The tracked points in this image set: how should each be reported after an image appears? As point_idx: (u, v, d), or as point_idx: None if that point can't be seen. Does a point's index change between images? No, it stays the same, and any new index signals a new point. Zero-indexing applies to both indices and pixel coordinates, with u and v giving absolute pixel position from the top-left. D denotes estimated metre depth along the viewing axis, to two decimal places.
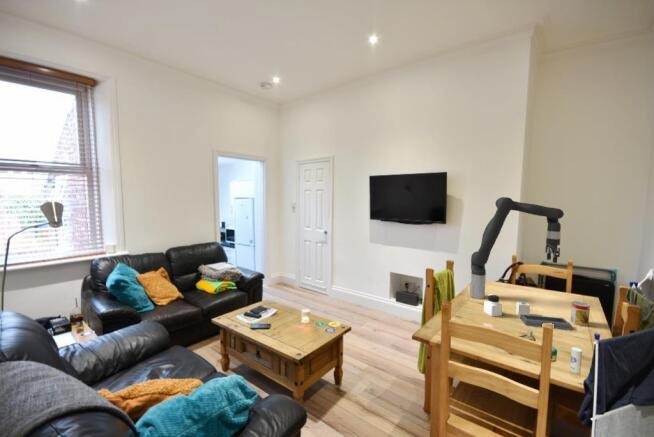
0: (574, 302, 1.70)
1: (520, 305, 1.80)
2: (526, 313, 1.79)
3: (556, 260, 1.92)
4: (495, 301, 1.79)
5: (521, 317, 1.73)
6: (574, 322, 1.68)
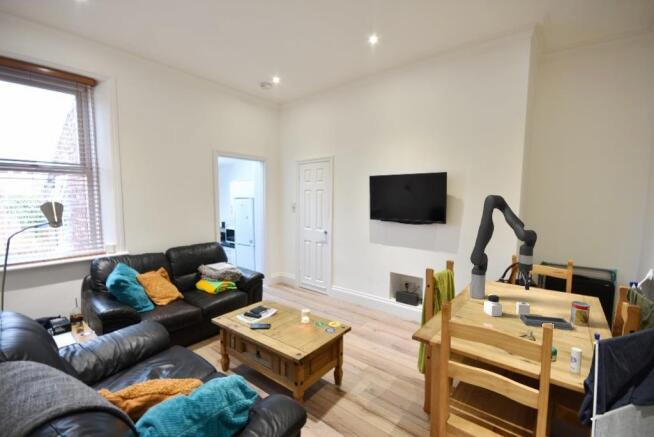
0: (574, 302, 1.70)
1: (520, 305, 1.80)
2: (526, 313, 1.79)
3: (528, 287, 1.75)
4: (495, 301, 1.79)
5: (521, 317, 1.73)
6: (574, 322, 1.68)
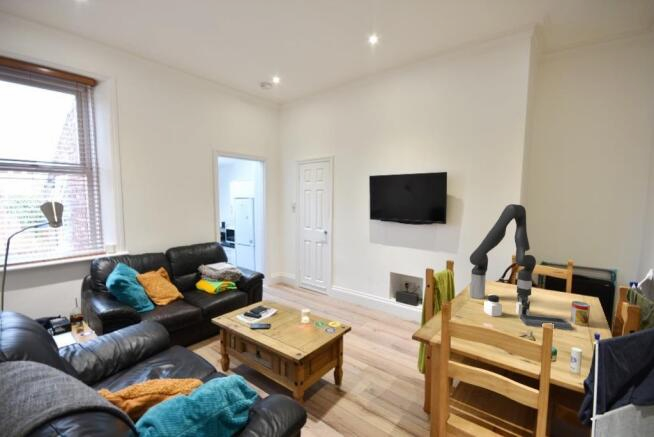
0: (574, 302, 1.70)
1: (520, 305, 1.80)
2: (526, 313, 1.79)
3: (525, 312, 1.78)
4: (495, 301, 1.79)
5: (521, 317, 1.73)
6: (574, 322, 1.68)
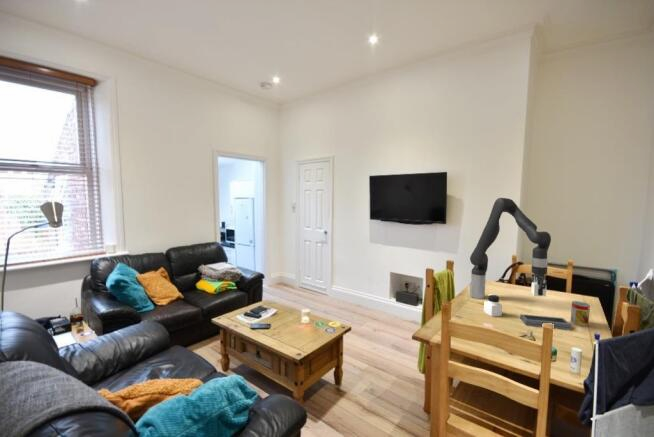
0: (574, 302, 1.70)
1: (536, 285, 1.70)
2: None
3: (542, 292, 1.68)
4: (495, 301, 1.79)
5: (521, 317, 1.73)
6: (574, 322, 1.68)
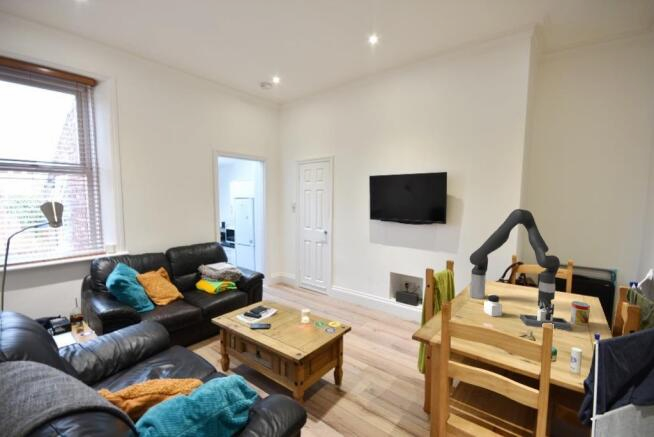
0: (574, 302, 1.70)
1: (542, 312, 1.66)
2: None
3: (549, 318, 1.63)
4: (495, 301, 1.79)
5: (521, 317, 1.73)
6: (574, 322, 1.68)
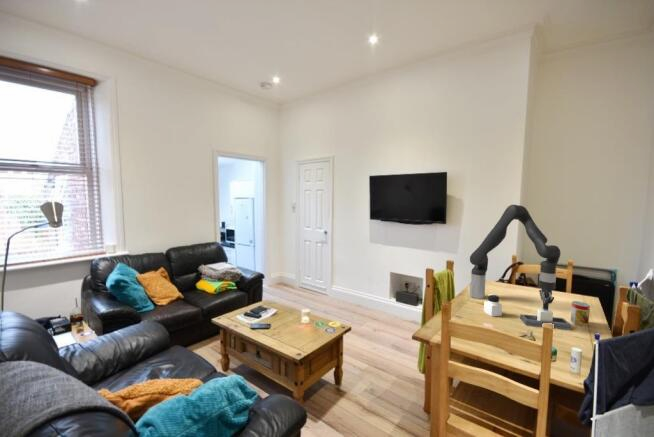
0: (574, 302, 1.70)
1: (542, 312, 1.66)
2: None
3: (547, 307, 1.66)
4: (495, 301, 1.79)
5: (521, 317, 1.73)
6: (574, 322, 1.68)
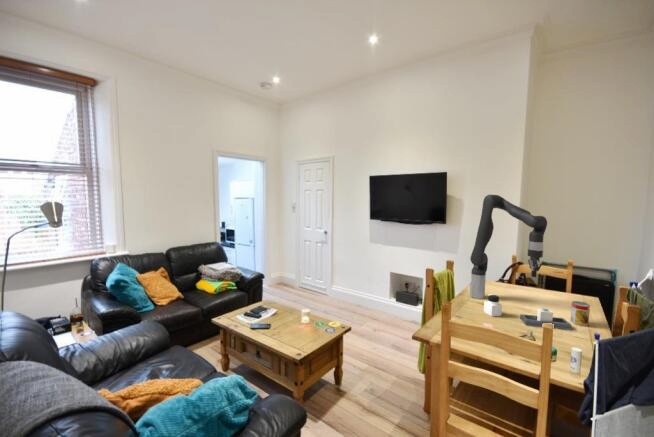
0: (574, 302, 1.70)
1: (542, 312, 1.66)
2: None
3: (535, 274, 1.75)
4: (495, 301, 1.79)
5: (521, 317, 1.73)
6: (574, 322, 1.68)
